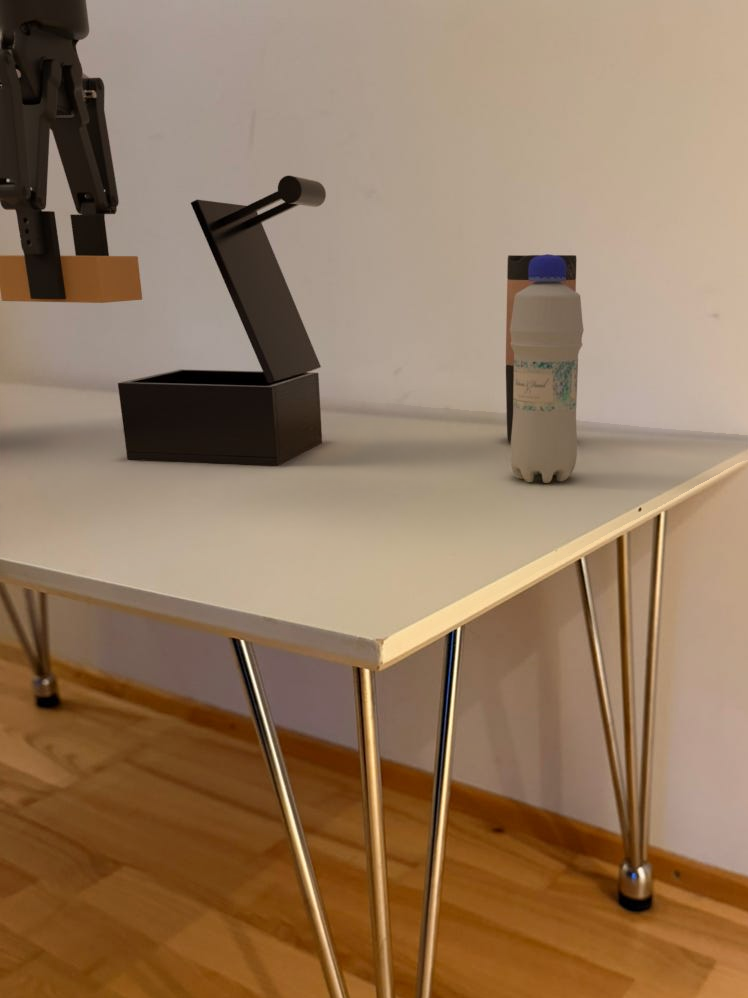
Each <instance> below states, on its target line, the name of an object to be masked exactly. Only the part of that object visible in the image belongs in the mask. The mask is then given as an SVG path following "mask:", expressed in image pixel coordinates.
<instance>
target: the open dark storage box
mask: <svg viewBox="0 0 748 998" xmlns="http://www.w3.org/2000/svg"><path fill="white" fill-rule="evenodd" d="M117 389H118V396H119V397H118V398H119V404H120V411H121V412H120V413H121V419H122V420H121V421H122V428H123V435H124V443H125V451H126V459H127V461H128V460H130V461H153V462H176V463H177V462H178V463H200V464H201V463H203V464H223V465H224V464H225V465H248V466H249V465H250V466H251V465H252V466H272V467H274V466H275V467H277V466H279V465H281V464H283V463H285V462H288V461H289V460H291V459H294V458H295V457H297V456H299V455H301V454H303V453H305V452H307V451H309V450H311V449H313V448H315V447H317V446H319V445H321V444H323V431H322V429H323V428H322V415H321V414H322V411H321V395H320V393H321V392H320V377H319V372H311V371H309V372H306V373H302V374H299V375H296V376H292V377H289V378H285V379H282V380H279V381H275V382H272V383H268V382H267V380H266V377H265V375H264V373H263V370H224V369H223V370H220V369H219V370H217V369H175V370H172V371H166V372H161V373H157V374H153V375H148V376H143V377H139V378H135V379H130V380H129V379H128V380H126V381H121V382H117Z"/></svg>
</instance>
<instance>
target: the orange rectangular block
mask: <svg viewBox="0 0 748 998" xmlns="http://www.w3.org/2000/svg"><path fill="white" fill-rule="evenodd" d="M60 258H61V265H62V273H63V280H64V287H65V295H66V299H31V297H30V290H29V284H28V277H27V270H26V264H25V257H24V254H20V255H19V254H0V298H1V302H30V303H31V302H32V303H33V302H34V303H82V304H83V303H84V304H85V303H87V304H88V303H90V304H106V303H117V302H131V301H142V300H143V292H142V284H141V283H142V282H141V273H140V265H139V257H138V256H137V255H109V256H76V255H64V254H63V255H61V254H60Z"/></svg>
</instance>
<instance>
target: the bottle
mask: <svg viewBox="0 0 748 998" xmlns="http://www.w3.org/2000/svg"><path fill="white" fill-rule="evenodd" d="M539 255H540V256H537V257H534V258H533V259H532V260H531V261H530V263H529V269H528V278H529V281H536V282H535V283H533V284H531V285H530V286H528V287H526V288H525V289H523V290H521V291H520V292H518V293H516V295H515V298H514V305H513V313H512V319H511V326H510V333H511V343H510V345H511V347H512V349H513V352H514V384H513V423H512V435H511V443H510V466H511V470H512V473H513V474H514V476H515V477H516V478H518V479H520V480H524V481H525V482H527V483H533V482H534V480H535V475H536V474H537V475H541V479H542V480H541V481H542V482H543V483H544V484H549V483H550V482H551V481H552V479H553V476H556V480H557V482H558V483H559V482H564V481H566V480H568V479H569V477H570V476H571V475H572V474H573V473H574V470H575V467H576V463H577V457H578V432H577V405H578V404H577V403H578V402H577V401H578V400H577V399H578V373H579V353H580V350H581V348H582V347H583V342H582V341H583V334H584V331H585V329H584V323H583V311H582V300H581V294H580V293H578V292H577V291H576V292H575V291H574V290H572V289H570V288H569V287H567V286H566V285H564V284H563V283H561V282H562V281H566V263H565V260H564V259H563V258H561V257H559V256H555V255H556V254H547V253H546V254H539Z"/></svg>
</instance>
